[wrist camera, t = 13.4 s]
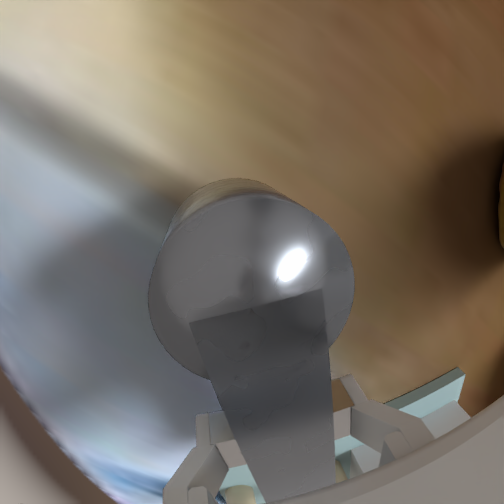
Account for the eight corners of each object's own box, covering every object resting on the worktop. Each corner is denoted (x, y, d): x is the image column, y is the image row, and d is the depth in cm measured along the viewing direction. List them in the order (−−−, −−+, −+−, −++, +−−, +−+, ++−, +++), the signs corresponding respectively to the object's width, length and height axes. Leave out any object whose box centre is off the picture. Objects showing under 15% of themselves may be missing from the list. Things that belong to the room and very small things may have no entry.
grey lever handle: (149, 198, 10) (118, 231, 6) (290, 164, 10) (343, 177, 6) (245, 462, 15) (257, 522, 11) (327, 440, 15) (351, 496, 11)
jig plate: (203, 456, 17) (210, 534, 11) (457, 367, 19) (505, 413, 13) (248, 525, 22) (259, 574, 16) (427, 461, 23) (454, 499, 18)
